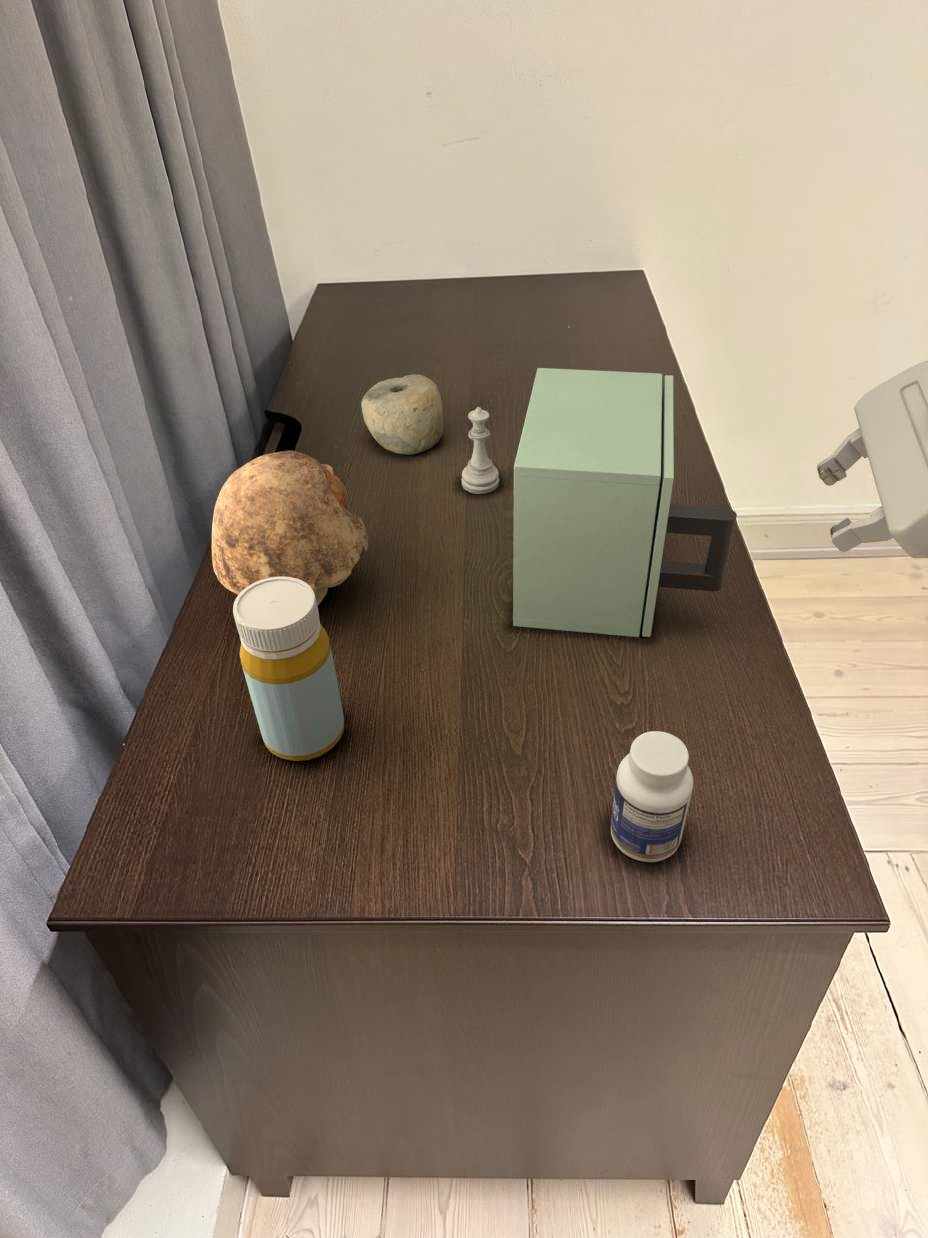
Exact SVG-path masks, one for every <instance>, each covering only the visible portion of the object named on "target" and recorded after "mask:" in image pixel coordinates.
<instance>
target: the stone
mask: <svg viewBox="0 0 928 1238" xmlns="http://www.w3.org/2000/svg"><path fill="white" fill-rule="evenodd" d="M360 406H361V412H362V417H363V421H364V423H365V426H366V427H367V429H368V431H369V433H370V434H371V436H372V437H373V439H374V440H375V441H376V442H377V444H379V446H381V447H382V448H384V449H385V450H387V451H390V452H392V453H395V454H398V455H408V456H411V455H417V454H419V453H423V452H425V451H428V450H429V449H432V448H433V447H434V446H436V444H437V443H439V442H440V440H441V438H442V435H443V433H444V420H443V419H444V417H443V412H444V411H443V409H444V407H443V401H442V397H441V394H440V391H439V388H438V386H437V384H436V383H435V382H434V381H433V380H432V379H430V378H428V377H426V376H424V375H423V374H417V373H416V374H415V373H414V374H409V375H404V376H403V377H393V378H388V379H385V380H381V381H379V382H377V383H376V384H374V385H373V386H372V387H371V388H370V389H368V391H367V392H366V393H365V394H364V395H363V397H362V399H361V405H360Z"/></svg>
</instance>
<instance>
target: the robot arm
mask: <svg viewBox="0 0 928 1238" xmlns="http://www.w3.org/2000/svg"><path fill="white" fill-rule="evenodd" d="M853 411H854V413H855V418H856V421H857V424H858V428H857V429H855V430H854V431H852V432H851V433H849V434H848V435H847V436H846V437H845V438H844V439H843V441H842V442H841V443H840V444H839V446H838V447H837V448H836V449H835V450H834V452H833V453H832V454H831V455H829V456H828V457H827V458H825V459H823V460H821V461H820V462H818V464H817V465H816V470H817V473H818V477H819V480H821V481H822V483H824V484H825V486H829V487H831V486H834V485H835V484H836V483H838V482H839V481H842V480H843V479H845V478H847V477H848V476H847V471H848V470H849V469H851V468H852V467H853V466H854V465H855V464H856V463H857V462H858V461H859V460H860V459H861V458H862V457H863V459H868V463H869V467H870V470H871V473H872V477H873V480H874V484H875V487H876V491H877V494H878V499H879V501H880V504H881V506H879V507H878V508H876V509H874V510H872V511H871V512H870V513H869V518H864V519H861V520H857V521H851V519H850V518H849V517H847V518H845V519H843V520H841V521H840V522H839V523H838V524H834V525H833V526H831V527H830V530H829V532H830V536H831V543H832V545H834V546H835V547H836V549H837V550H838V551H840V552H841V553H842V552H844V553H845V552H848V551H850V550H852V549H854V548H855V547H857V546H860V545H861V544H870V543H878V542H879V543H881V542H887V541H890V540H891V539H894V541H895V542H896V543H897V545H899V547H900V548H901V549H902V550H903V551H904V552H905V553H906V554H907V555H908V556H909V557H910V558H911V559H928V360H925V361H924V360H923V361H922V362H919V363H917V364H915V365H913V366H911V367H908V368H907V369H905V370H904V371H901V372H899V373H898V374H896V375H894V376H892V377H891V378H888V379H887V380H885V381H883V382H882V383H880V384H878V385H877V386H875V387H874V388H872V389H870V390H869V391H867V392H865V394H863V395H862V396H861V397H860V399H859V400H858V401H857V402H856V403H855V405H854V406H853Z"/></svg>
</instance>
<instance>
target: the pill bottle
mask: <svg viewBox="0 0 928 1238" xmlns="http://www.w3.org/2000/svg"><path fill="white" fill-rule="evenodd" d="M689 756H690V755H689V750H688V748H687V746H686V745H685V743H684V742H683V741H682V740H681V739H680V738H679V737H677V736H675V735H673V734H671V733H669V732H665V731H660V730H659V731H657V730H652V731H647V732H644V733H642V734H640V735H638V736H637V737H636V738H635V739H634V740H633V741H632V743H631V746H630V751H629V753H627V754H626V756H625V757H623V758H622V760H621V761H620V763H619V765H618V767H617V772H616V777H615V785H614V793H613V801H612V809H611V817H610V818H611V819H610V835H611V838H612V840H613V843H614V844H615V845H616V847H617V849H619V850H620V851H621V852H622V853H623V854H624V855H626V857H628V858H631V859H633V860H635V861H639V862H643V863H656V862H661V861H664V860H666V859H668V858H670V857H672V855H674V854H675V853H676V852H677V850H678V848H679V847H680V844H681V842H682V838H683V834H684V830H685V825H686V820H687V816H688V812H689V808H690V803H691V800H692V794H693V790H694V789H693V788H694V776H693V773H692V771H691V768H690V766H689V759H690V757H689Z"/></svg>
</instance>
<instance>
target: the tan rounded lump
mask: <svg viewBox="0 0 928 1238" xmlns="http://www.w3.org/2000/svg"><path fill="white" fill-rule="evenodd" d="M347 502H348V491H347V488H346V486H345V485H344V483H343V482H342V481H341V480H340V479H339V477H338V476H337V475H336V474H335V472H334V468H333V467H332V466H331V465H329V464H327V463H320V461H319V460H317V459H316V458H314V457H312V456H310V455H308V454H305V453H302V452H299V451H296V450H284V451H283V450H282V451H278V452H272V453H266V454H263V455H260V456H258V457H256V458H254V459H252V460H250V461H249V462H247V463H245V464H244V465H242V466H240V467H239V468H237V469H235V471H233V473H232V474H230V476H229V477H228V478H227V479H226V481H225V482H224V484H223V486H222V487H221V489H220V491H219V494H218V496H217V498H216V501H215V504H214V510H213V516H212V527H211V560H212V567H213V572H214V573H215V576H216V578H217V580H218V581H219V582H220V584H221V585H222V586H223V587H224V588H225V589H227V590H228V591H230V592H231V593H233V594H236V595H237V596H238V595H239V594H240V592H241V591H243V590H244V589H245V588H246V587H248V586H249V585H251V584H253V583H255V582H257V581H260V580H263V579H266V578H271V577H292V578H296V579H299V580H302V581H304V582H305V583H307V584H308V585H309V586H310V587H311V588H312V590H313V592H314V594H315V597H316V602H317V607H318V606H319V605H320V604H321V602H322V601H323V599H324V598H325V596H326V595H327V593H328V590H329V589H330V588H335V587H337V586H339V585H341V584H343V582H345V580H347V579H348V578H349V577H350V575H351V574H352V569H353V568H355V566H356V564H358V563H359V560H360V558H361V554H362V552H367V550H368V548H369V543H368V540H369V539H368V534H367V531H366V527H365V524H364V521H363V520H362V519H361V518H360V516H359V515H358V514H357V513H355V512H353V511H350V510H347V509H346V506H347ZM328 588H329V589H328Z"/></svg>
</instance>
